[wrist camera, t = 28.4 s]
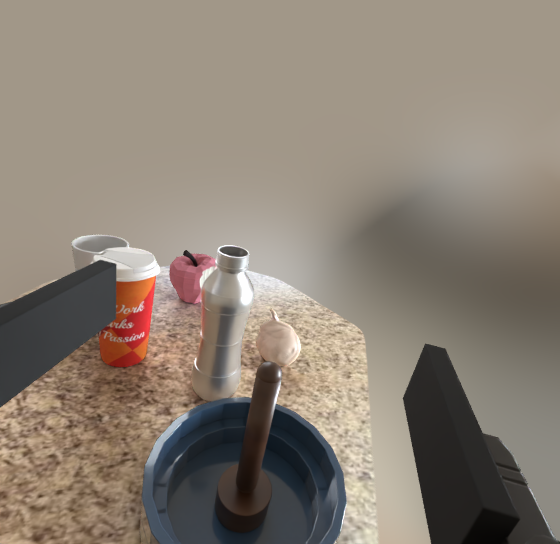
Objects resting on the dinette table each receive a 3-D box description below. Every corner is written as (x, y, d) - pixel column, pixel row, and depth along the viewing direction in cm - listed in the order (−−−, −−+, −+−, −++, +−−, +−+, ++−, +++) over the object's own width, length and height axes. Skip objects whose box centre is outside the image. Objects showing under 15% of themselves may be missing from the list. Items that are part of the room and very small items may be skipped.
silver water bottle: (181, 402, 44) (195, 254, 37) (199, 368, 50) (215, 237, 43) (230, 414, 44) (255, 268, 36) (243, 379, 50) (266, 248, 42)
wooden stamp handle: (212, 482, 35) (234, 344, 28) (261, 477, 36) (292, 344, 30) (217, 537, 30) (244, 388, 24) (273, 528, 32) (312, 385, 25)
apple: (186, 316, 62) (191, 264, 59) (157, 296, 67) (160, 247, 63) (225, 301, 70) (232, 255, 66) (197, 284, 74) (201, 240, 70)
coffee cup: (78, 365, 47) (73, 261, 41) (112, 332, 54) (112, 241, 49) (139, 378, 47) (143, 276, 41) (164, 344, 54) (170, 253, 48)
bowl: (148, 440, 38) (150, 401, 36) (298, 428, 44) (308, 394, 42) (128, 663, 23) (130, 618, 21) (363, 603, 29) (383, 562, 26)
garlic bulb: (290, 349, 59) (300, 307, 56) (299, 374, 53) (310, 330, 50) (251, 347, 58) (259, 304, 54) (256, 373, 52) (265, 327, 49)
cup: (63, 316, 56) (58, 245, 51) (94, 294, 63) (92, 231, 59) (110, 327, 56) (110, 257, 51) (136, 304, 63) (138, 241, 58)
